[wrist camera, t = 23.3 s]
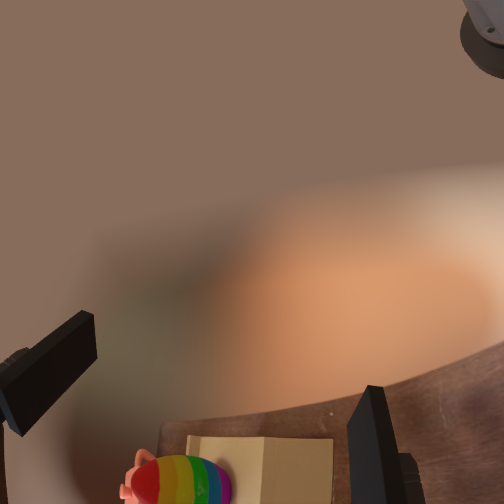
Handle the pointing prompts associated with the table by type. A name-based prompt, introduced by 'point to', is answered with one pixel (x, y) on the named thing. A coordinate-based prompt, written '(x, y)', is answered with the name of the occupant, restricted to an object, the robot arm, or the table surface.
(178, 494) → the decorative egg
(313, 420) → the table surface
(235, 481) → the tan cardboard box
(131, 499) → the pink ceramic boxy vessel
